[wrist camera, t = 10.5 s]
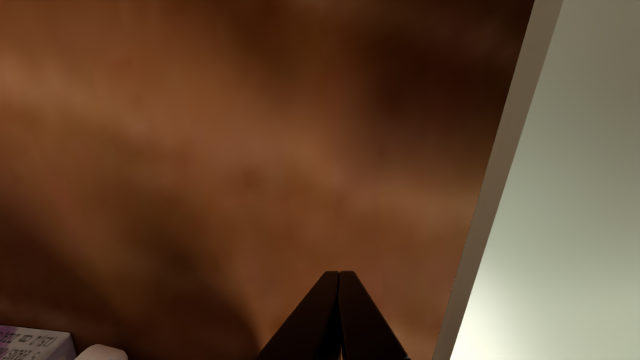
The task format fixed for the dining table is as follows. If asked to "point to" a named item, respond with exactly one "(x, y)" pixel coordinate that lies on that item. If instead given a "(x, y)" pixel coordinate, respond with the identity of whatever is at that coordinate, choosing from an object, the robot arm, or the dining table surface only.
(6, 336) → the cake pan box
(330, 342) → the robot arm
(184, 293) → the dining table surface
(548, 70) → the cover
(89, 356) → the cable organizer
